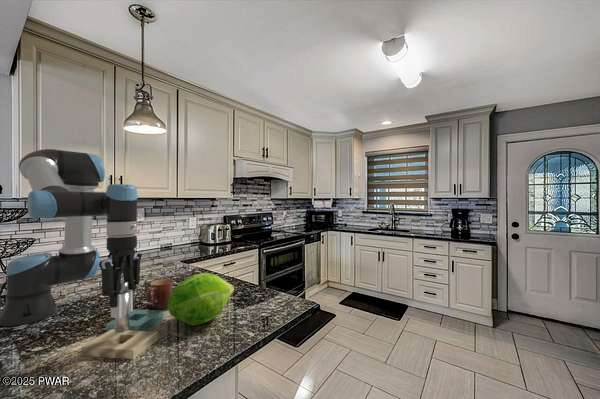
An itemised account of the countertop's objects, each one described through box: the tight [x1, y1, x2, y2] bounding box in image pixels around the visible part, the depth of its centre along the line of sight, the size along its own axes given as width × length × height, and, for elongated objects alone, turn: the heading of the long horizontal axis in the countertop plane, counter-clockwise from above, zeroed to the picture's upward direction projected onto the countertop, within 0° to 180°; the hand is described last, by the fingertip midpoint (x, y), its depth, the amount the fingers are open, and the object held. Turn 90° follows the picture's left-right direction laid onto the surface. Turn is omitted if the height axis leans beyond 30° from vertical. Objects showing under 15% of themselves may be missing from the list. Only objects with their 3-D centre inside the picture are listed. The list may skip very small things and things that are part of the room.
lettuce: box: [167, 272, 235, 326], centre depth 93 cm, size 19×25×17 cm
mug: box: [146, 278, 175, 310], centre depth 105 cm, size 12×9×10 cm
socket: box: [105, 308, 164, 333], centre depth 90 cm, size 12×12×3 cm
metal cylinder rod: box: [114, 280, 130, 333], centre depth 76 cm, size 4×4×14 cm
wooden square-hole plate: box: [81, 329, 159, 360], centre depth 76 cm, size 16×10×2 cm, turn 83°
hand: (122, 313), depth 76 cm, fingers closed on metal cylinder rod, 4 cm apart
